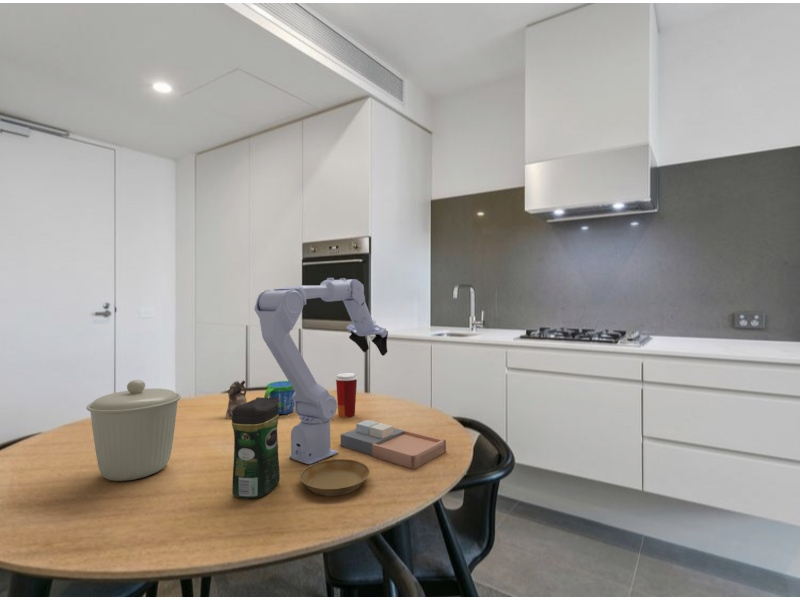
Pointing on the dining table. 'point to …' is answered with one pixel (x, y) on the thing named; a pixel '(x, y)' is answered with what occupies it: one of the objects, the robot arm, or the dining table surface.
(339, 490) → the plant saucer
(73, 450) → the dining table surface
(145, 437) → the canister
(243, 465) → the coffee jar
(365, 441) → the charcoal board
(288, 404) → the snack cup
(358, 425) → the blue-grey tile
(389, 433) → the cream tile
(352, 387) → the paper cup
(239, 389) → the figurine
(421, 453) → the terracotta tray
